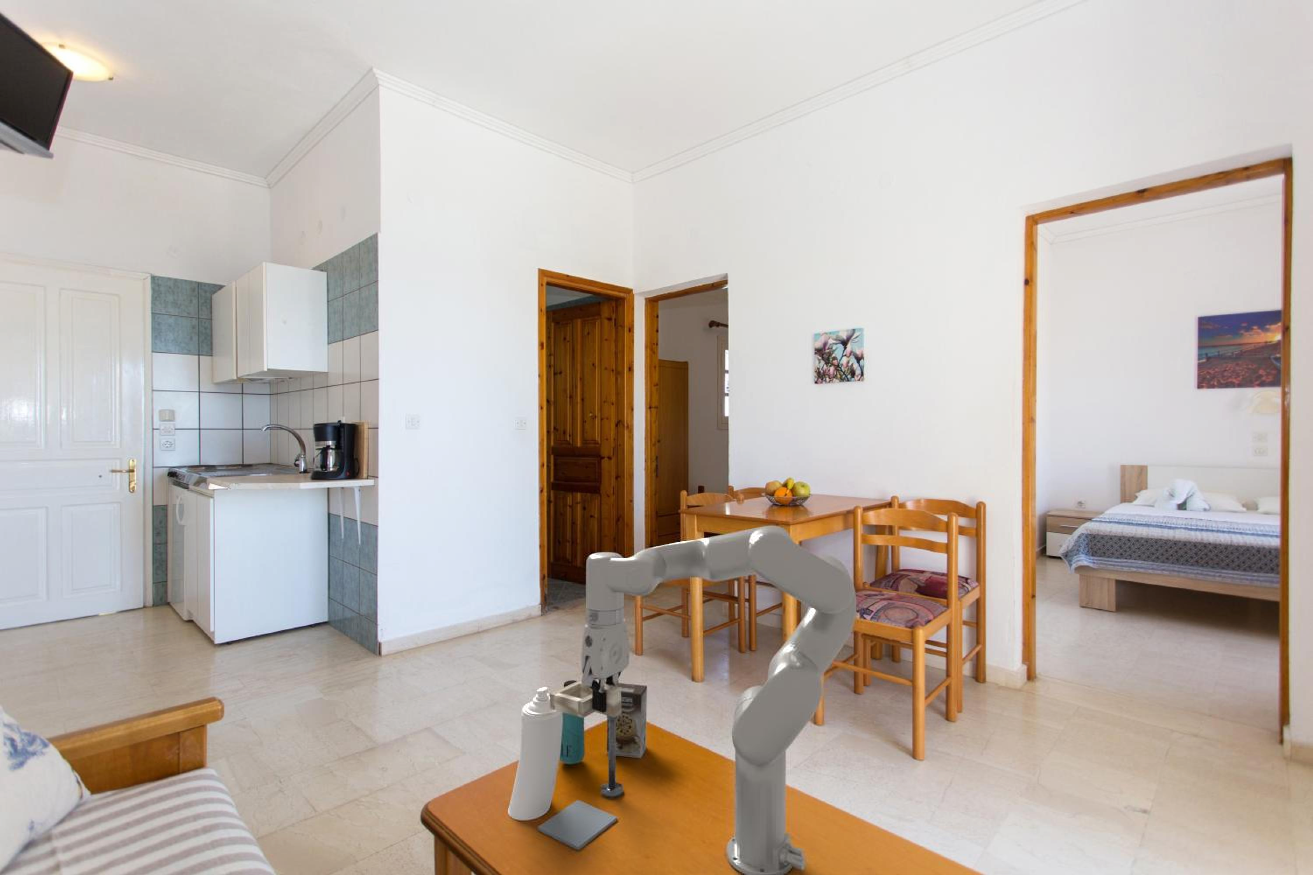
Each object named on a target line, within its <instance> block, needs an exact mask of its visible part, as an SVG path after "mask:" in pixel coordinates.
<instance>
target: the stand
mask: <svg viewBox="0 0 1313 875" xmlns="http://www.w3.org/2000/svg"><path fill="white" fill-rule="evenodd" d="M617 718H618V715H617V716H615V717H611V716H608V715H606V719H608V720H609V754H608V782H606V783H603V784H602V785H601V787H600V795H601V796H602V797H603V798H605V799H618V798H619V797H622V796H623V794H624V785H623V784H622V783H620V782H617V779H616V776H617V774H616V772H617V767H616V766H617V765H616V764H617V763H616V762H617V760H616V758H617V755H616V719H617Z"/></svg>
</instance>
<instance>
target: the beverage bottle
mask: <svg viewBox="0 0 1313 875" xmlns="http://www.w3.org/2000/svg"><path fill="white" fill-rule="evenodd" d="M577 681H578V680H566V681H565V682H564V683H563V688H564V687H566V686H568V685H571V684H573V683H575V682H577ZM581 699H583V698H581ZM562 715H563V725H562V738H561V751H560V759H559V762H561V763H564V764H566V765H575V764H578V763H580V762H582V761H583V760H584V759H585V727H586V726H585V717H584V718H582V717H578V716H575V715H571V714H567V713H564V712H562Z"/></svg>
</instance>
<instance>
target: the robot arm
mask: <svg viewBox="0 0 1313 875" xmlns="http://www.w3.org/2000/svg"><path fill="white" fill-rule="evenodd" d="M585 566H586V568H585V569H586V571H585V575H586V576H585V578H586V579H585V581H586V582H585V617H584V620H585V625H584V630H583V635H582V644H581V660H580V661H581V663H580V664H581V674H582V678H581V680H580V681H581V683H582V684H583V685H587V686H589V687H590V690H592V708H593V710H596V711H599V712H602V713H604V712H606V692H605V691H604V688H605V684H608V685H613V686H617V685H618V683H620V682H619V678H620V676H621V673H622V672H623V671H625V670H626V669H627V668H628V667H629V664H630V647H629V646H630V645H629V634H628V633H629V632H628V626H627V622H626V619H625V617H624V612H625V610H624V609H625V607H624V605H625V604H624V602H625V600H624V599H625V596H624V594H625V595H630V596H635V597H641V596H646V595H647V596H648V595H649V594H651V593H652V592H653V591H654V590H655V589H656V587H658V585H659V584H661V583H665V582H669V581H670V582H671V581H676V580H681V579H687V578H688V579H690V578H699V579H703V580H706V581H708V582H723V581H726V580H732V579H735V578H737V579H738V578H741V577H742V578H743V577H746V576H753V575H758V576H759V577H761V578H762V579H763V580H765V581H766V582H768V583H769V584H771V585H773V586H774V587H776V588H777V589H779V590H781V591H782V592H784V593H785V594H787V595H789V596H791V597H792V598H793V599H795V600H798V601H799V602H801V603H802V604H804V605H805V606H807V607H808V608H807V611H806V613H805V615H804V617H803V618H802V619H801V621H800V622H799V624H798V625H797V626H796V629H795V630H793V632H792V633H791V635H790V636H789V637H788V638H787V640H786V641H785V642H784V644H782V646H781V647H780V649H779V650H778V651H777V652H776V653H775V655H773V657H772V658H771V661H770V662H769V667H768V673H767V680H766V681H765V683H764V684H763V685H754V686H751V687H749V688H747V689H746V690H745V691H743V692H742V693H741V694H740V696H739V697H738V699H737V702H736V704H735V709H734V714H733V722H732V723H733V724H732V728H731V738H732V744H733V747H734V750H735V752H734V757H735V758H734V836H732V838H730V840H729V841H728V842H727V844H726V858H727V861H728V862H729V864H730V865H731V866H732V867H733V868H734V869H735V870H736V871H738V872H739V873H742V874H744V875H785V874H787V873H788V872H789V871H790V870H791V869H792V868H793V867H794V868H796V869H798V870H800V871H803V870H805V868H806V863H807V862H806V858H805V857H804V855H805V851H804V849H801V848H798V847H795V846H793V844H791V834H788V833H786V786H787V785H786V780H787V778H786V777H787V772H786V771H787V770H786V769H787V760H786V758H787V756H786V754H787V750H788V749H789V747H790V746H791V745H792V744H793V742H795V740H796V739H797V737H799V735H800V733H801V732H802V731H803V729H804V728H805V727H806V726H807V724H808V723H809V722H810V720H812V718H813V716H814V715H815V713H817V710H818V708H819V706H820V705H821V704H820V703H821V701H822V698H823V688H824V687H823V682H822V680H823V677H824V674H825V672H826V671H827V669H828V668H829V667H830V666H831V664H832V663H833V661H834V660H835V659H836V657H837V656H838V654H839V653H840V651H841V649H842V648H844V645H845V644H846V642H847V640H848V638H849V637H850V635H851V632H852V630H853V629H854V628H853V627H854V625H855V620H856V614H857V596H856V595H857V594H856V589H855V586H854V583H853V580H852V578H851V575H850V573H849V570H848V569H847V567H846V566H845V564H844V563H843V562H842V561H841V560H839V558H836V557H835V556H833V555H829V554H822V555H818V556H817V555H816V554H814V553H812V552H810V551H809V550H807V549H806V548H804V547H803V546H801V545H799V544H798V543H796V542H795V541H794V540H793V538H792V536H791V535H790V533H789V532H788V531H787V530H786V529H784V528H783V527H781V526H778V525H765V526H759V527H754V528H750V529H744V530H739V531H733V532H729V533H725V534H720V535H715V536H714V535H713V536H710V537H703V538H702V537H701V538H698V539H693V540H686V541H680V542H674V543H673V542H672V543H669V544H664V545H663V544H662V545H659V546H653V547H648V548H645V549H642V550H640V551H638V552H637V553H635V554H634V555H632V556H630V557H627V558H626V557H625V558H624V557H623V556H622V555H621V554H619V553H617V552H609V551H604V552H602V551H601V552H595V553H592V554H590V555H589V556H588V557H587V559H586V565H585ZM597 680H598V681H597Z"/></svg>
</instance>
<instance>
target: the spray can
mask: <svg viewBox="0 0 1313 875" xmlns="http://www.w3.org/2000/svg"><path fill="white" fill-rule="evenodd" d="M521 710H522V711H521V713H520V714H521V725H520V726H521V730H520V731H521V732H520V748H519V759H518V763H517V768H516V773H515V779H514V782H513V787H512V793H511V798H510V802H509V806H508V809H507V813H508V816H509V817H510V818H512V819H514V820H517V821H530V820H534V819H538V818H540V817H542V816H544V815H545V814H547V813H548V811H549V810H550V809H551V808H550V807H551V804H552V799H553V795H554V792H555V786H556V781H557V780H556V779H557V775H558V771H559V764H560V751H561V738H562V725H563V715H562V712H560V711H556V710H553V709H550V693H548V687H541V688H538V689H537V690H536V695H535V696H534V697H533V699H532V701H531V702H528V703H526V704H525V705H523V707H522V709H521Z"/></svg>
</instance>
